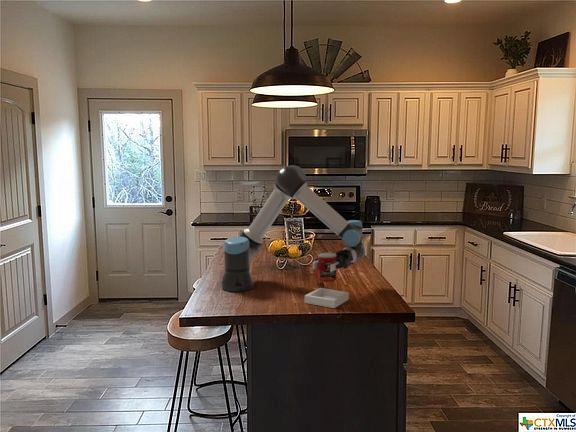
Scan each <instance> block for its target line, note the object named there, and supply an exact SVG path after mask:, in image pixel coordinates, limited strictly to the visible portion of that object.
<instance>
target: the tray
mask: <svg viewBox="0 0 576 432" xmlns="http://www.w3.org/2000/svg"><path fill="white" fill-rule="evenodd" d="M349 295H350V294H349V292H348V291H344V290H343V291H342V290H338V289H337V290H336V289H330V288H323V287H319V288H317V289H314V290H313V291H311V292H309V293H307V294H305V295H304V304H309V305H314V306H319V307H325V308H331V309H335V308H338V307H339V306H341V305H343V304H344V303H346V302H347V301H348V300H349Z"/></svg>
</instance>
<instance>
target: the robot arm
mask: <svg viewBox="0 0 576 432" xmlns="http://www.w3.org/2000/svg"><path fill="white" fill-rule="evenodd" d="M275 179H276V180H275V182H274V183H273V191H272V193H271V194H270V195H269V197H268V198H267V200H265V202H264V204H263V206H262V207H261V209H260V210H259V211H258V213H257V215H256V216H255V218H253V221H252V222H251V224H250V225H249V227H248V228H247V227H246V228H244V229H242V232H241V233H240V235H239V236H232V237H229V238H227V239H226V240H224V246H223V250H224V251H223V252H224V255H223V256H224V273H223V277H222V280H221V284H220V285H221V287H220V288H221V289H222V290H223V291H227V292H246V291H249V290H252V289H254V281H253V278H252V275H251V274H252V273H251V272H250V260H251V259H253V258H255V257H256V256H257V255H258V254H259V252H260V248H261V247H262V245H263V244H264V242H265V241H264V237H265V235H266V234H267V232H268V231H269V229H270V228H271V226H272V225H273V223H274V222H275V220H276V219H277V217H278V216H279V215H280V213H281V212H282V210H283V208H284V207H285V206H286V204H287V203H288V201H289V200H290V199H293V200H294V199H296V200H297V201H298V202H299V203H300V204H302V205H303V207H305V208H306V209H307V210H308V211H310V212H311V214H313V215H314V216H315V217H316V218H318V220H319V221H321V222H322V223H323V224H324V225H325V226H326V227H327V228H329V230H331V231H332V232H333V233H334V234H336V236H338V238H340V239H341V240H342V242H343V243H344V245H345V247H344V248H342V249H340V250H338V251H337V252H336V253H335V254H336V263H334V264H331V265H330V271H331V272H332V271H334V270H336V271H337V270H338V269H342V268H343V269H345V270H346V269H348V268H349V267H350V266H351V265H354V263H355V262H358V261H360V260H361V259H362V258H363V257H364V256H365V254H366V250H365V247H364V245H363V221H361V220H356V219H350V220H346V219H345V218H344V217H343V216H342V215H341V214H340V213H339V212H338V211H336V210H335V209H334V208H333V207H332V206H331V205H329V203H327V202H326V201H325V200H324V199H322V198H321V197H320V196H319V195H318V194H317V193H315V192H314V190H312V189H311V188H310V187H309V186H308V182H307V181H306V180H307V176H306V173H305V171H304V170H303V168H302V167H300V166H298V165H295V164H294V165H293V164H292V165H286V166H283V167H281V168H280V169H279V171H278V172H277V173H276V177H275ZM315 269H318V257H317V258H315V259H314V261H313V262H312V270H315Z"/></svg>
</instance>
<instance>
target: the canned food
mask: <svg viewBox="0 0 576 432" xmlns="http://www.w3.org/2000/svg"><path fill="white" fill-rule="evenodd" d="M317 258H318V268H317V269H318V270H317V271H318V280H319V282H324V283H330V282H331V283H332V282H335V281H336V280H337V269H336V270H334V271H332V272H331V271H330V265H331V264H334V263H336V253H333V252H322V253H321V252H320V253H319V254H318V256H317Z"/></svg>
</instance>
